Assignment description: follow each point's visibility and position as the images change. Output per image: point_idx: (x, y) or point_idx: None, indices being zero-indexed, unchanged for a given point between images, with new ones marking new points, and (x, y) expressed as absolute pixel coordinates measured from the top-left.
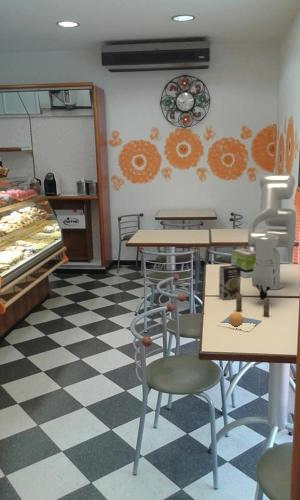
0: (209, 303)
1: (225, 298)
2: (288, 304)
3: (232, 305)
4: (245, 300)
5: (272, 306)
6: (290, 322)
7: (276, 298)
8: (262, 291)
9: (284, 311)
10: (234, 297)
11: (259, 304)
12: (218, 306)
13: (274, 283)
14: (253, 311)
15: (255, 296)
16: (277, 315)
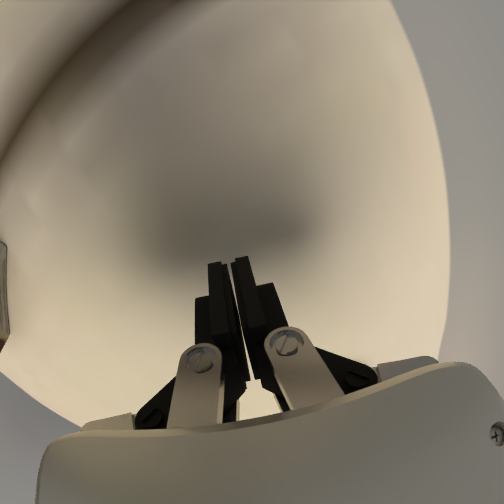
0: (34, 392)
1: (6, 337)
2: (403, 113)
3: (100, 376)
4: (57, 261)
5: (317, 241)
6: (433, 351)
7: (235, 2)
8: (240, 369)
9: (411, 272)
10: (2, 293)
11: (200, 269)
12: (82, 405)
13: (465, 365)
14: (253, 380)
15: (36, 105)
16: (385, 341)
